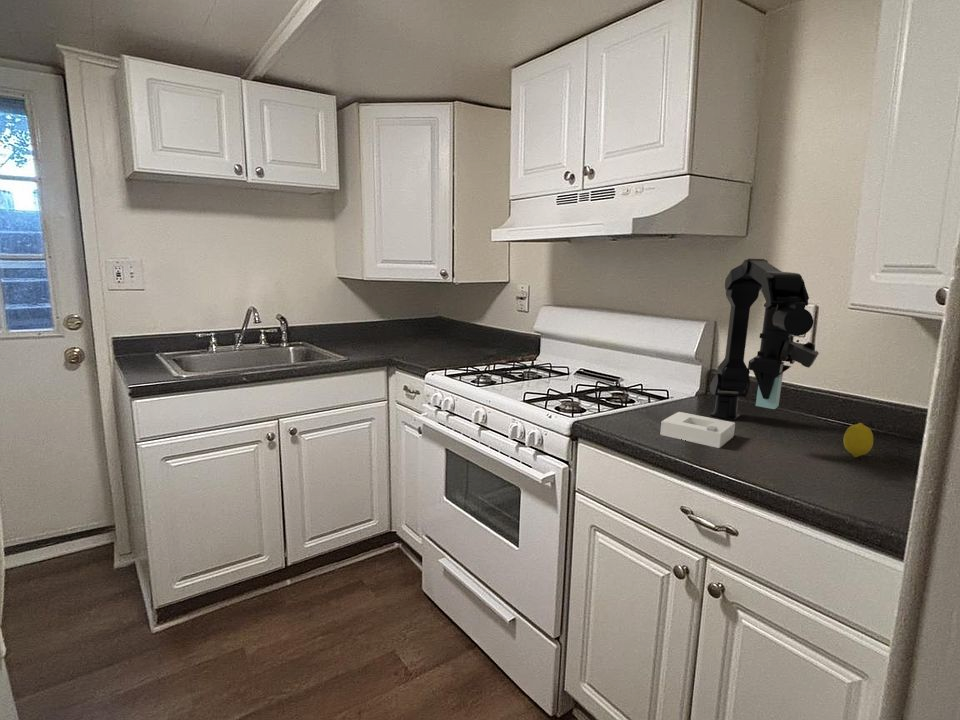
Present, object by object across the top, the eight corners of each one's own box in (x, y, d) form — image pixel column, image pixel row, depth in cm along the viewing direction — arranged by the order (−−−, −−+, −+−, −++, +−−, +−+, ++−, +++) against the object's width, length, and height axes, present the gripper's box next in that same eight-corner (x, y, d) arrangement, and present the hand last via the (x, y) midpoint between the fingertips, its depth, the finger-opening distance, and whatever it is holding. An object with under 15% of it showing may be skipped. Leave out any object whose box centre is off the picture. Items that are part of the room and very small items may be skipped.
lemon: (865, 454, 127) (871, 421, 126) (873, 462, 122) (879, 428, 120) (838, 451, 129) (843, 418, 127) (844, 459, 124) (850, 424, 122)
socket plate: (677, 424, 146) (678, 409, 145) (733, 436, 138) (735, 420, 137) (660, 434, 137) (661, 418, 136) (719, 448, 128) (721, 431, 128)
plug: (759, 402, 130) (763, 369, 129) (778, 405, 128) (783, 371, 126) (755, 405, 127) (759, 371, 125) (774, 409, 125) (779, 374, 123)
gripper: (811, 337, 112) (800, 412, 115) (824, 329, 126) (814, 396, 129) (751, 331, 119) (743, 402, 122) (770, 324, 133) (762, 388, 136)
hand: (767, 397), depth 127 cm, fingers closed on plug, 4 cm apart
